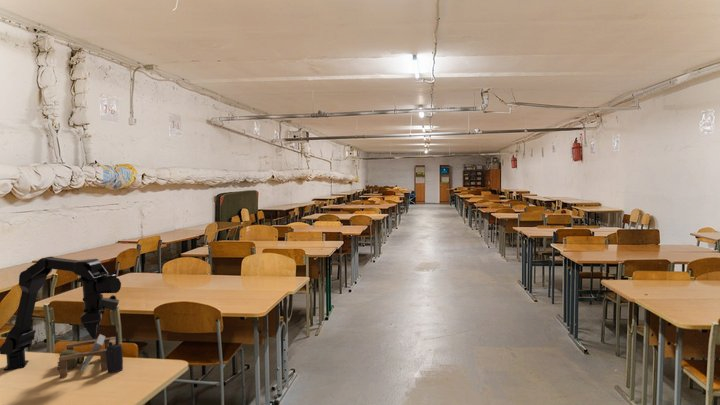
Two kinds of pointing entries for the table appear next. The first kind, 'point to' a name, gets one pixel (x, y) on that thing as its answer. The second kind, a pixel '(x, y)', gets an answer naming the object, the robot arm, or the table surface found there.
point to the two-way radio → (114, 356)
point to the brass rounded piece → (71, 362)
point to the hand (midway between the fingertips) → (95, 334)
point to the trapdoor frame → (84, 354)
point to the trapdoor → (96, 346)
